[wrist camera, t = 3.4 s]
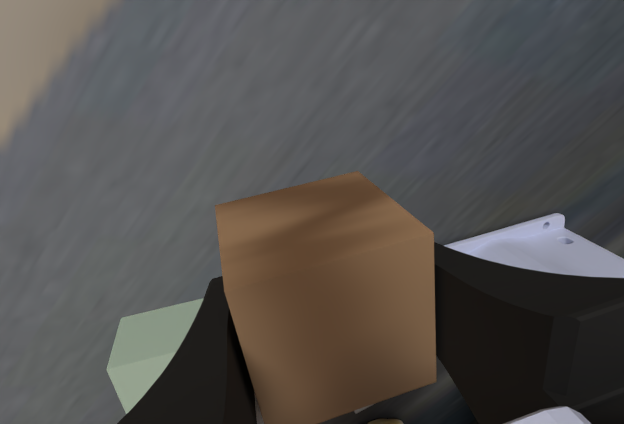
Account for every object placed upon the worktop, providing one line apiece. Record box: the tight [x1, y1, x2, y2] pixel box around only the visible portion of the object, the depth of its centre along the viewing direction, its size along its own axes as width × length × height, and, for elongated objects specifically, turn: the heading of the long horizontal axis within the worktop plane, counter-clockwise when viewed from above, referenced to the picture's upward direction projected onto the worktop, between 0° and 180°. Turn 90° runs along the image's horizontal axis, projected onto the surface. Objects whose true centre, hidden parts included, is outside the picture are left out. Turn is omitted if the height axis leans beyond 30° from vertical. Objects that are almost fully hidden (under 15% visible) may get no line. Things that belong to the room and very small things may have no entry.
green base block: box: [107, 298, 204, 414], centre depth 22 cm, size 6×6×4 cm
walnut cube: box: [215, 171, 436, 424], centre depth 12 cm, size 5×5×5 cm
